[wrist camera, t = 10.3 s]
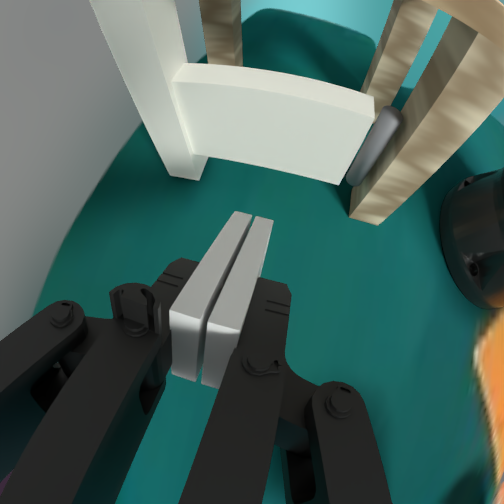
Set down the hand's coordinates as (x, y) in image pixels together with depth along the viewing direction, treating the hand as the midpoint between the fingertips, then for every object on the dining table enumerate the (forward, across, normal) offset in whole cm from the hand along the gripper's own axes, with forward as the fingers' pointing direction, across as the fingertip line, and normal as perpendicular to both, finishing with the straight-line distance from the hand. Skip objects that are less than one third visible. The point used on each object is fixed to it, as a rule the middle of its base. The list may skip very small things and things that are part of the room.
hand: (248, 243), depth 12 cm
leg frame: (+14, -2, -1) cm, 14 cm away
